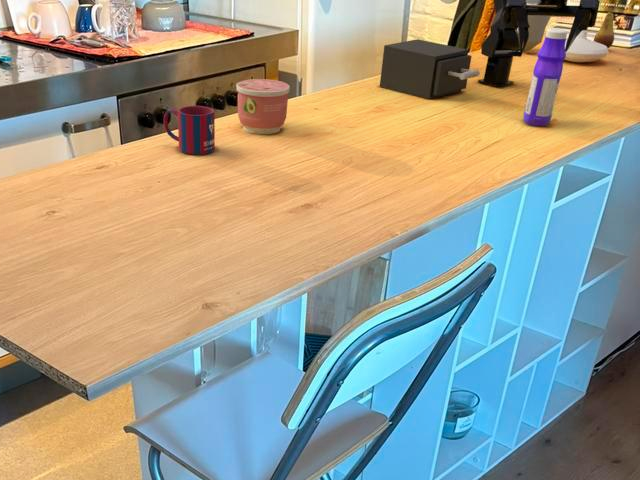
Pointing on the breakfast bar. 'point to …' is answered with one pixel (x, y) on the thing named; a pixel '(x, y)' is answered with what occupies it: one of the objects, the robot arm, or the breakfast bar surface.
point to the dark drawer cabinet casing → (414, 66)
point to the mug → (194, 129)
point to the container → (262, 105)
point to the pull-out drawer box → (452, 74)
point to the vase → (585, 49)
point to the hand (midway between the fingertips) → (543, 49)
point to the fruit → (606, 31)
